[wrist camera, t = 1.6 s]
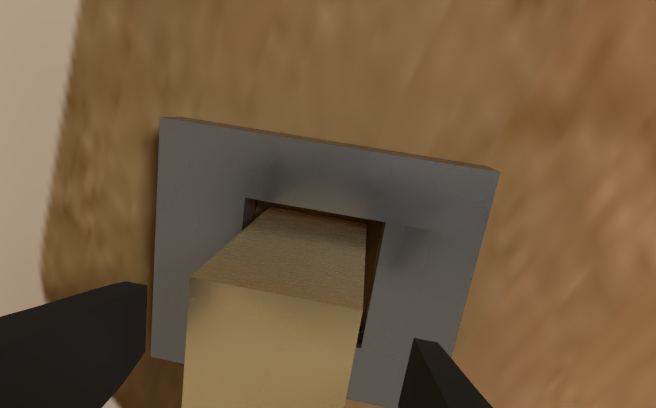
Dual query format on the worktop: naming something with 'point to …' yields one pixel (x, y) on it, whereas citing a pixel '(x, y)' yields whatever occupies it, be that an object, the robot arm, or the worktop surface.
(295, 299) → the brass peg
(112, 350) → the robot arm
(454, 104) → the worktop surface
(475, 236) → the socket plate
